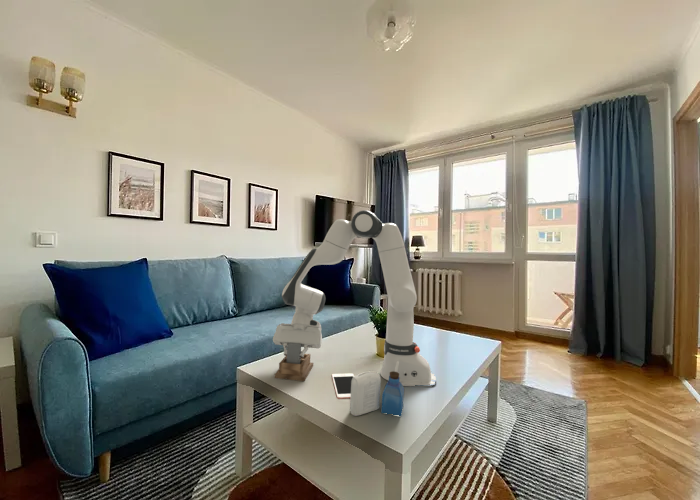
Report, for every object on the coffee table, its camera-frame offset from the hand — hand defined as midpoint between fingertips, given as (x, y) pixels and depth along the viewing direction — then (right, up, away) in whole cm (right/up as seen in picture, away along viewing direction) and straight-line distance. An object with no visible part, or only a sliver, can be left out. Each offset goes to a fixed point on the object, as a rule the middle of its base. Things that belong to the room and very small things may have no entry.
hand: (293, 355), depth 115 cm
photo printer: (+27, -10, -22) cm, 36 cm away
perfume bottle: (+36, -10, -21) cm, 43 cm away
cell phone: (+21, -10, -6) cm, 24 cm away
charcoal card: (0, -5, +1) cm, 5 cm away
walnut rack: (0, -8, +4) cm, 9 cm away
